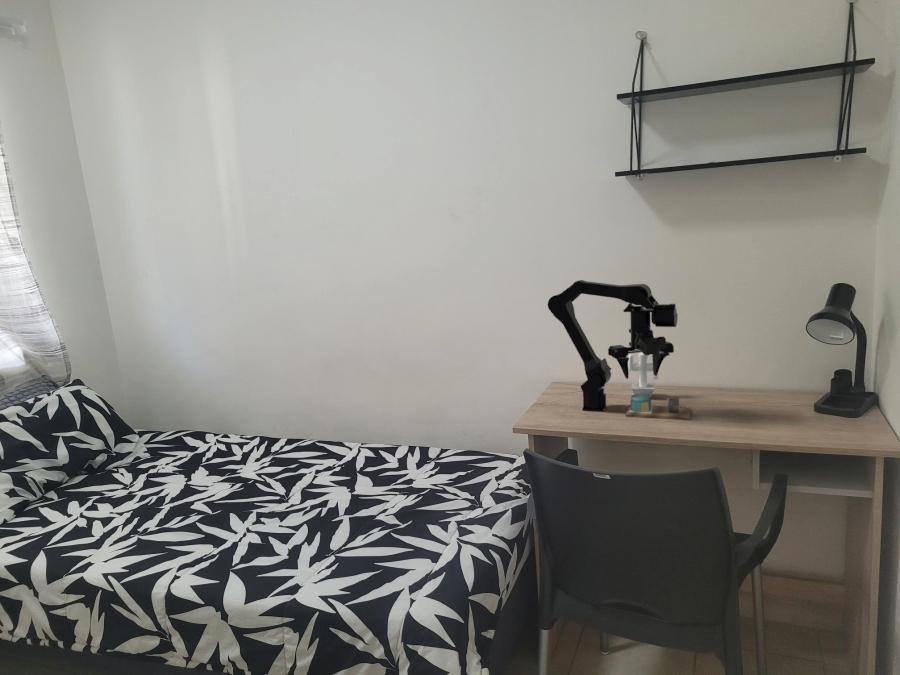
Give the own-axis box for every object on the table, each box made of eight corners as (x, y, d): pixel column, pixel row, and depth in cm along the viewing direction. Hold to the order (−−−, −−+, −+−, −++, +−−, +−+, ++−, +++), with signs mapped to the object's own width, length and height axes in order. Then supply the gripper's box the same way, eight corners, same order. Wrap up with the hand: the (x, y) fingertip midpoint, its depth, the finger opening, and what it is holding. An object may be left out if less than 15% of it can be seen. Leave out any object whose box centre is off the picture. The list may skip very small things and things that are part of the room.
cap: (628, 407, 193) (628, 395, 192) (645, 406, 193) (645, 393, 193) (636, 412, 187) (636, 400, 186) (653, 410, 188) (653, 398, 187)
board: (625, 416, 187) (625, 400, 186) (628, 407, 197) (628, 392, 196) (689, 419, 181) (689, 403, 180) (689, 410, 190) (689, 394, 189)
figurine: (658, 400, 202) (658, 355, 200) (628, 399, 205) (627, 355, 203) (658, 394, 209) (658, 350, 206) (629, 393, 212) (628, 350, 209)
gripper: (622, 333, 177) (623, 386, 179) (683, 327, 179) (683, 379, 182) (606, 327, 187) (608, 377, 190) (664, 322, 190) (664, 371, 193)
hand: (641, 376), depth 188 cm, fingers open, 9 cm apart
